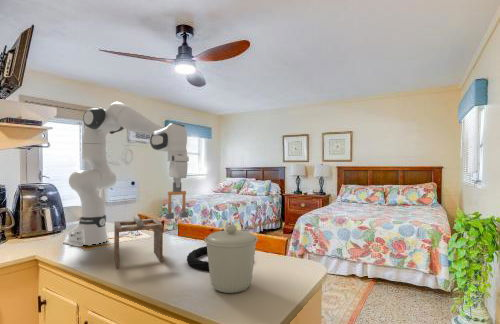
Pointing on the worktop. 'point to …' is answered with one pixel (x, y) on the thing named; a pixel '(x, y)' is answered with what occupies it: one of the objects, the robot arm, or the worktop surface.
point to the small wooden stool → (137, 221)
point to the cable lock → (195, 262)
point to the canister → (231, 259)
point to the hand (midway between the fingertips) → (176, 187)
